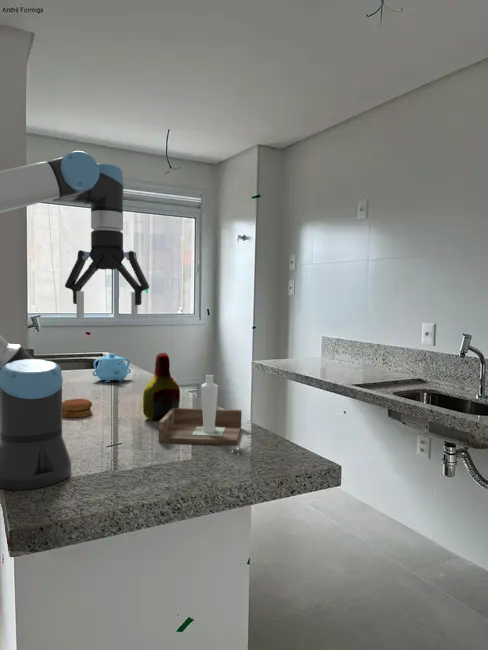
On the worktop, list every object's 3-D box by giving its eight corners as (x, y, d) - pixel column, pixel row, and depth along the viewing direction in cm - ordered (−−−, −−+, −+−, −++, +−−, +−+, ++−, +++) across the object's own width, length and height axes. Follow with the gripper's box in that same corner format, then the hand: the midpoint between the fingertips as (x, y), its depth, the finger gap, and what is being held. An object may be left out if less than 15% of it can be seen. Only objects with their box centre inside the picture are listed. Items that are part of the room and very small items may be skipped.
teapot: (86, 379, 216) (86, 352, 216) (123, 376, 225) (123, 350, 225) (99, 386, 200) (99, 357, 199) (139, 383, 208) (139, 355, 208)
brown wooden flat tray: (236, 445, 125) (236, 424, 124) (158, 442, 126) (158, 422, 126) (241, 428, 140) (241, 410, 140) (172, 425, 142) (172, 407, 142)
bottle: (176, 414, 156) (176, 351, 155) (183, 418, 150) (184, 353, 149) (139, 418, 150) (139, 352, 149) (145, 423, 144) (146, 355, 143)
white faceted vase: (219, 432, 130) (220, 376, 129) (202, 433, 129) (203, 377, 128) (215, 428, 135) (216, 373, 134) (199, 429, 134) (200, 374, 133)
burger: (92, 417, 150) (92, 402, 150) (59, 419, 147) (59, 404, 147) (91, 410, 160) (91, 396, 159) (61, 412, 157) (61, 397, 157)
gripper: (161, 233, 122) (160, 318, 124) (64, 232, 124) (64, 316, 125) (153, 229, 115) (153, 319, 116) (50, 228, 117) (51, 317, 118)
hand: (107, 318), depth 121 cm, fingers open, 13 cm apart
